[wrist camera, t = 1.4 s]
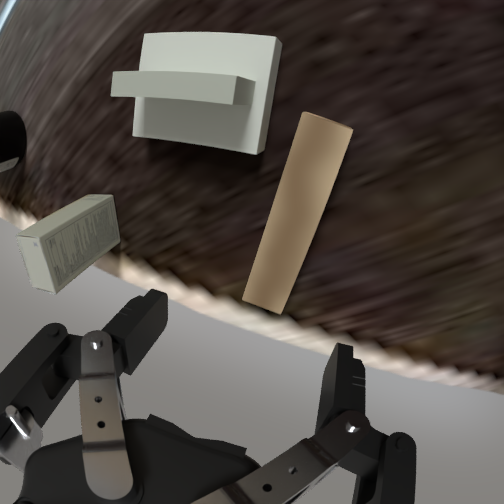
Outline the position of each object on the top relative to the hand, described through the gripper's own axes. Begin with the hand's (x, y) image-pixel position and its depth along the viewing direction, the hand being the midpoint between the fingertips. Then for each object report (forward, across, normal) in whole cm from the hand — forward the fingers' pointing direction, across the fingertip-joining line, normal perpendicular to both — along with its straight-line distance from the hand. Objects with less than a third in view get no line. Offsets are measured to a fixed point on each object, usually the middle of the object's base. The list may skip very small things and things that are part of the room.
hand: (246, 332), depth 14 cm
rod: (+18, 0, 0) cm, 18 cm away
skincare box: (+18, +22, +6) cm, 29 cm away
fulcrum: (+18, +10, -10) cm, 22 cm away
